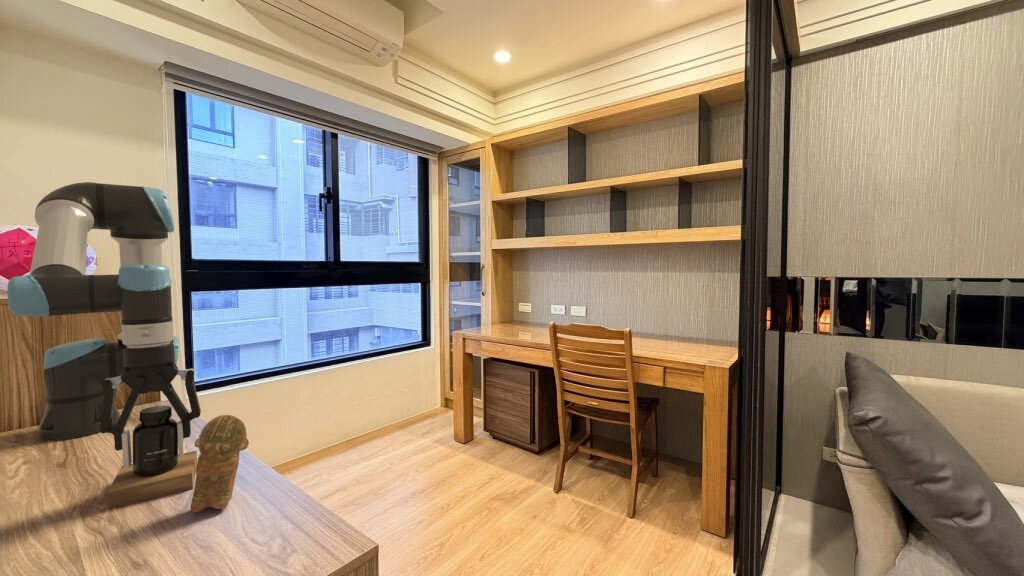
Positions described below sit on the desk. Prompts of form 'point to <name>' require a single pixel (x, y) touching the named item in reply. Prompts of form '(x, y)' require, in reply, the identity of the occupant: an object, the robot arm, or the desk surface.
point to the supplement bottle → (155, 442)
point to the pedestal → (152, 482)
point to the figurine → (218, 461)
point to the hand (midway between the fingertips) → (155, 459)
